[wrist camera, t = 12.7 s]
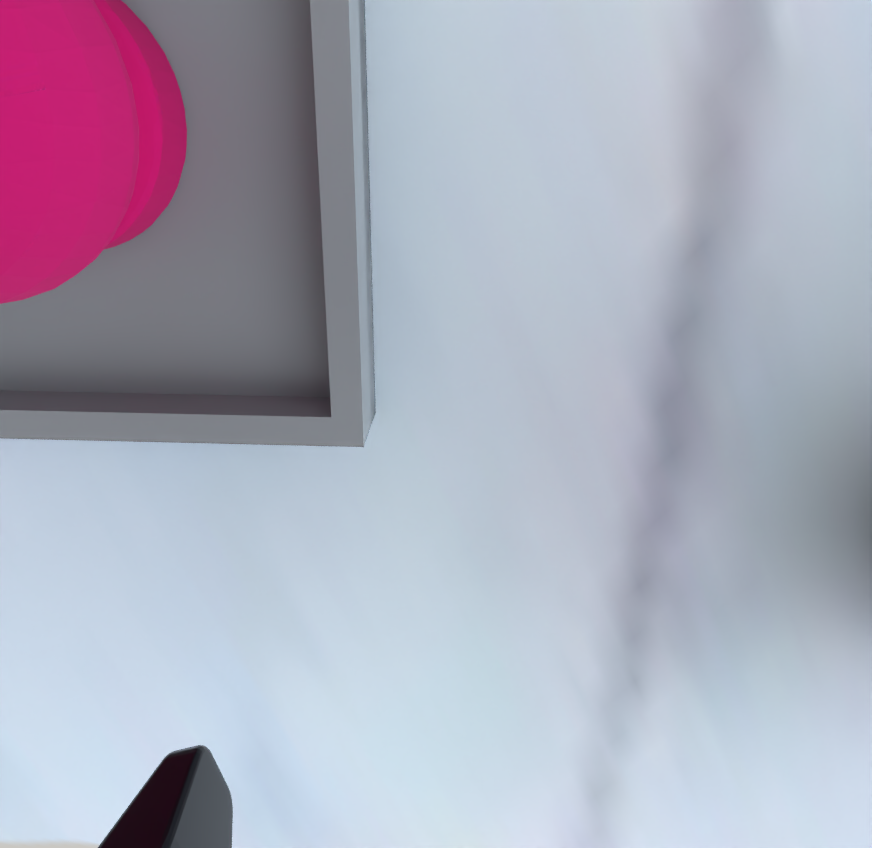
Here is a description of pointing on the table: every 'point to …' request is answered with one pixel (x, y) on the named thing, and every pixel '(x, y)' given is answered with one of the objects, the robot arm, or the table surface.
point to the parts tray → (225, 254)
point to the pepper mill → (80, 137)
